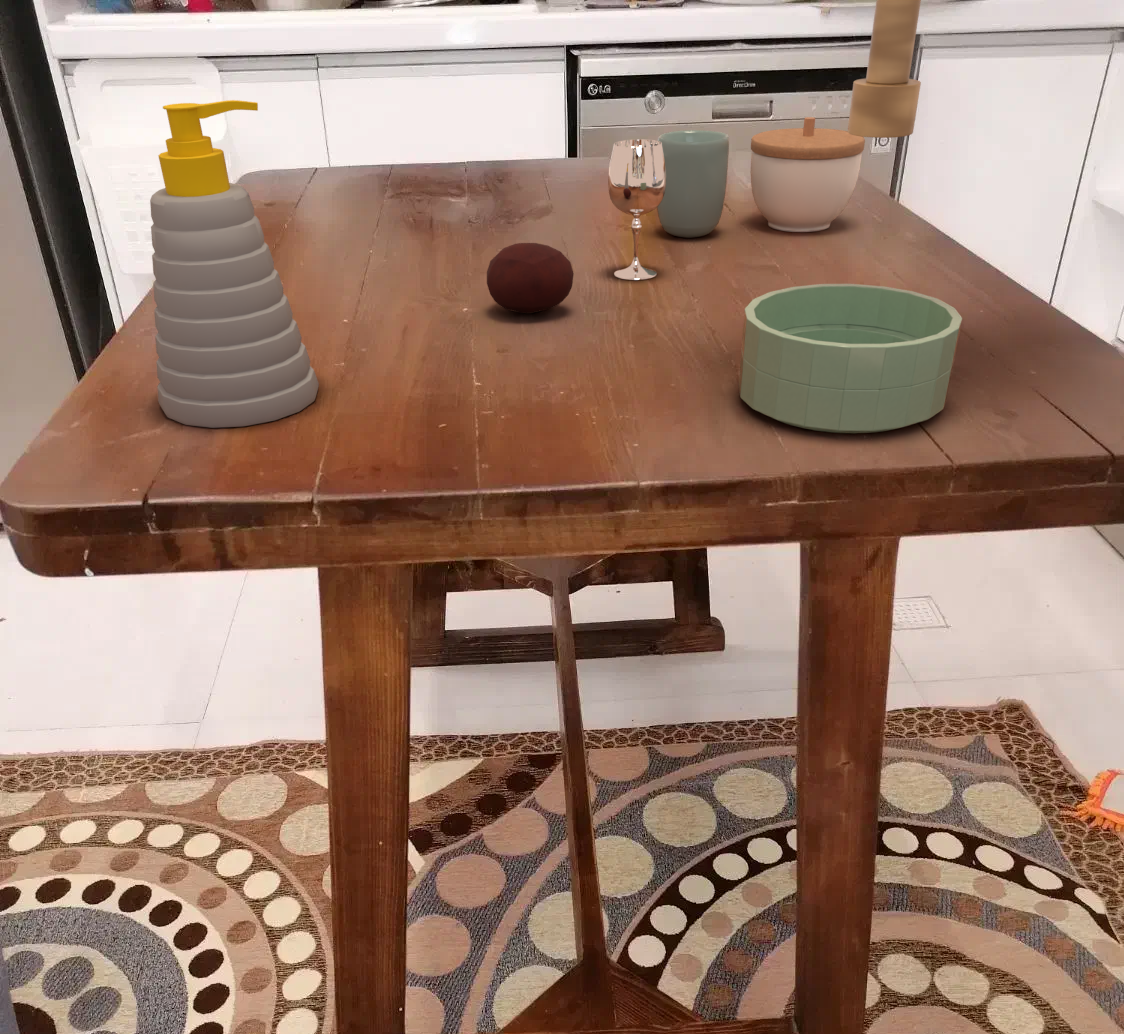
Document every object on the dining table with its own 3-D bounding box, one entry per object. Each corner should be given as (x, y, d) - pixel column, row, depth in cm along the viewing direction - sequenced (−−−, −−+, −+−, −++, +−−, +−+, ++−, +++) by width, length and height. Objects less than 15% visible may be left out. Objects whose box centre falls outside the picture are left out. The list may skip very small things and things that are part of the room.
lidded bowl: (803, 208, 136) (814, 105, 129) (876, 227, 127) (892, 118, 120) (723, 222, 131) (729, 116, 124) (793, 243, 122) (805, 131, 115)
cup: (642, 237, 126) (644, 138, 120) (676, 223, 131) (680, 128, 125) (702, 245, 122) (707, 144, 116) (734, 230, 127) (741, 133, 121)
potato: (539, 329, 100) (537, 259, 96) (470, 314, 104) (465, 246, 100) (586, 309, 104) (586, 241, 101) (518, 295, 108) (515, 230, 105)
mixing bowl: (921, 366, 90) (936, 283, 86) (964, 439, 78) (984, 346, 74) (732, 366, 91) (738, 284, 87) (745, 438, 79) (753, 346, 75)
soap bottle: (327, 417, 84) (279, 110, 71) (157, 437, 81) (77, 123, 69) (313, 365, 93) (268, 87, 81) (161, 381, 91) (91, 97, 78)
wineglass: (612, 266, 116) (613, 138, 109) (666, 267, 115) (671, 138, 108) (603, 280, 112) (603, 148, 104) (659, 282, 111) (663, 149, 103)
